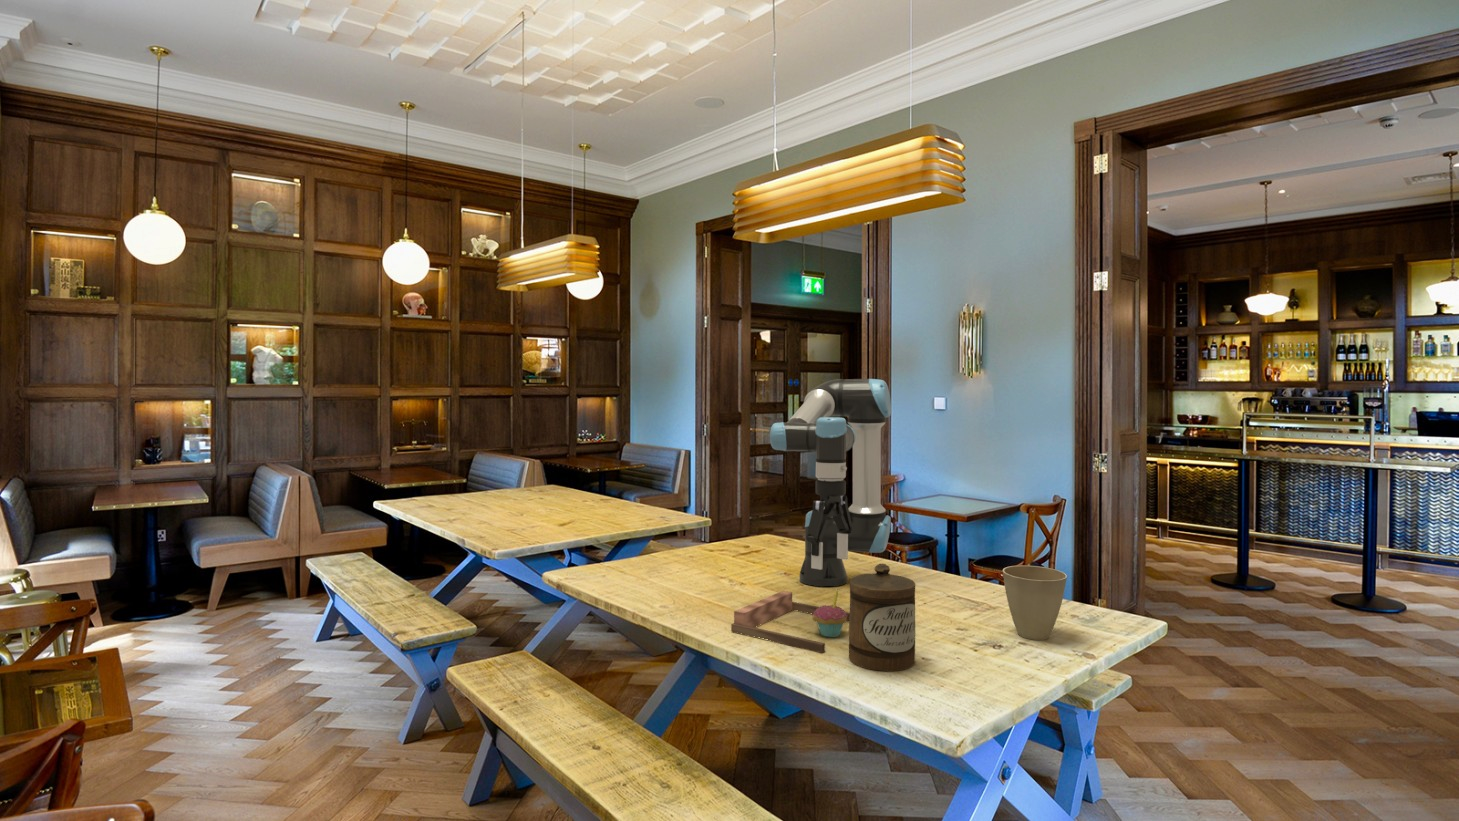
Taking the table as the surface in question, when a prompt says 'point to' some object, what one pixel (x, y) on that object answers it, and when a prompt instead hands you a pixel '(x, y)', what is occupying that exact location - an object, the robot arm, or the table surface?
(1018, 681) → the table surface
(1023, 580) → the plant pot
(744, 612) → the brown wooden open frame
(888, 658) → the wooden container
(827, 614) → the cupcake
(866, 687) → the table surface
